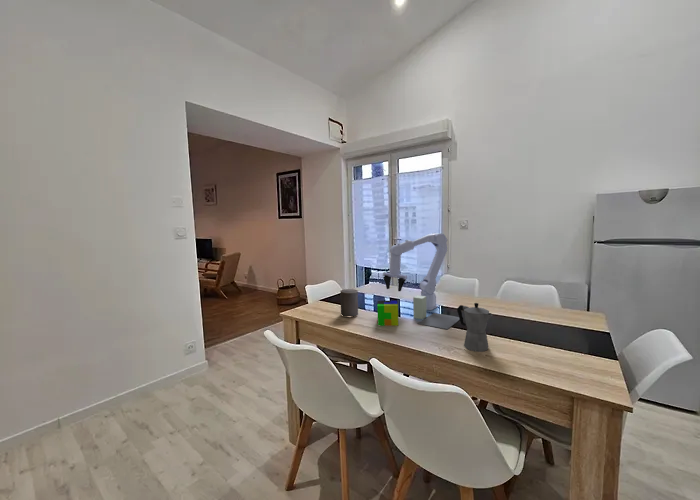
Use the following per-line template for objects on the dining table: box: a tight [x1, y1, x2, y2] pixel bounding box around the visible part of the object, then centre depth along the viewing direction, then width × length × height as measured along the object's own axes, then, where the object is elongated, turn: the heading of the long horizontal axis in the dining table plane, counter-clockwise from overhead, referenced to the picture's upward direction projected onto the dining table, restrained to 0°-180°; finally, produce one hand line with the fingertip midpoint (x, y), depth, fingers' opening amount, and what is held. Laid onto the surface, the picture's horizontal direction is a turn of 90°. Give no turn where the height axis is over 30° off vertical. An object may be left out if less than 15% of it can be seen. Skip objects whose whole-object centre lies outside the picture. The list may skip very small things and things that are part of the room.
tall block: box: [412, 294, 428, 320], centre depth 160 cm, size 5×5×11 cm
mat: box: [417, 312, 460, 331], centre depth 154 cm, size 20×15×1 cm
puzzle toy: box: [376, 300, 399, 327], centre depth 154 cm, size 10×10×10 cm
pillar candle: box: [340, 288, 359, 317], centre depth 168 cm, size 10×10×15 cm
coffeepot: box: [456, 302, 493, 353], centre depth 121 cm, size 15×9×18 cm, turn 33°
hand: (393, 289), depth 174 cm, fingers open, 7 cm apart
